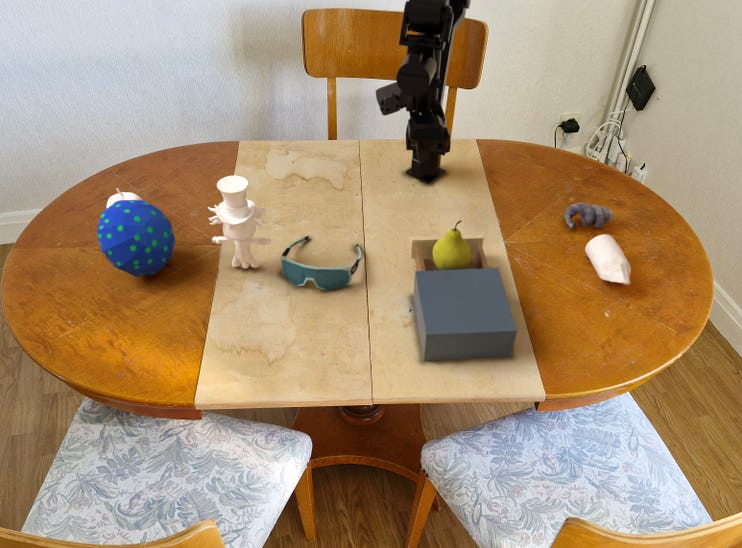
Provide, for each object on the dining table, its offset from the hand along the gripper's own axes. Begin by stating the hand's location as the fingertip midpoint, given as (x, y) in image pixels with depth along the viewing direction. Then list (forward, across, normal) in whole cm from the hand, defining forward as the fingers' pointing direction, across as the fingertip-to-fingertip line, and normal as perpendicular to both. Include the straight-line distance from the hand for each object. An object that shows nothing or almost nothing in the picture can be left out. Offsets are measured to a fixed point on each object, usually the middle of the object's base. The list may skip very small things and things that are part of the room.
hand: (418, 149), depth 135 cm
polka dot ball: (+12, +18, -53) cm, 57 cm away
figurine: (+12, +20, -34) cm, 41 cm away
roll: (+12, +26, +33) cm, 44 cm away
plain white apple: (+12, +5, -57) cm, 59 cm away
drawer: (+11, +25, +3) cm, 28 cm away
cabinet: (+12, +37, +4) cm, 39 cm away
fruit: (+10, +25, +4) cm, 27 cm away
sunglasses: (+12, +20, -20) cm, 31 cm away
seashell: (+12, +10, +34) cm, 37 cm away
